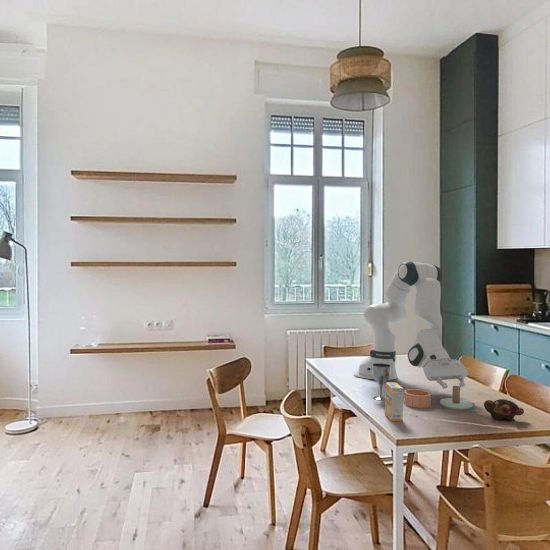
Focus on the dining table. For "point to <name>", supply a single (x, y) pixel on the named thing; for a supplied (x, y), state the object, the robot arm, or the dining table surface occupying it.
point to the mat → (455, 409)
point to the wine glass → (381, 376)
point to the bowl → (417, 398)
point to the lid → (456, 401)
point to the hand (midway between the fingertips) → (454, 387)
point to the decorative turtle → (503, 409)
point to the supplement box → (394, 401)
